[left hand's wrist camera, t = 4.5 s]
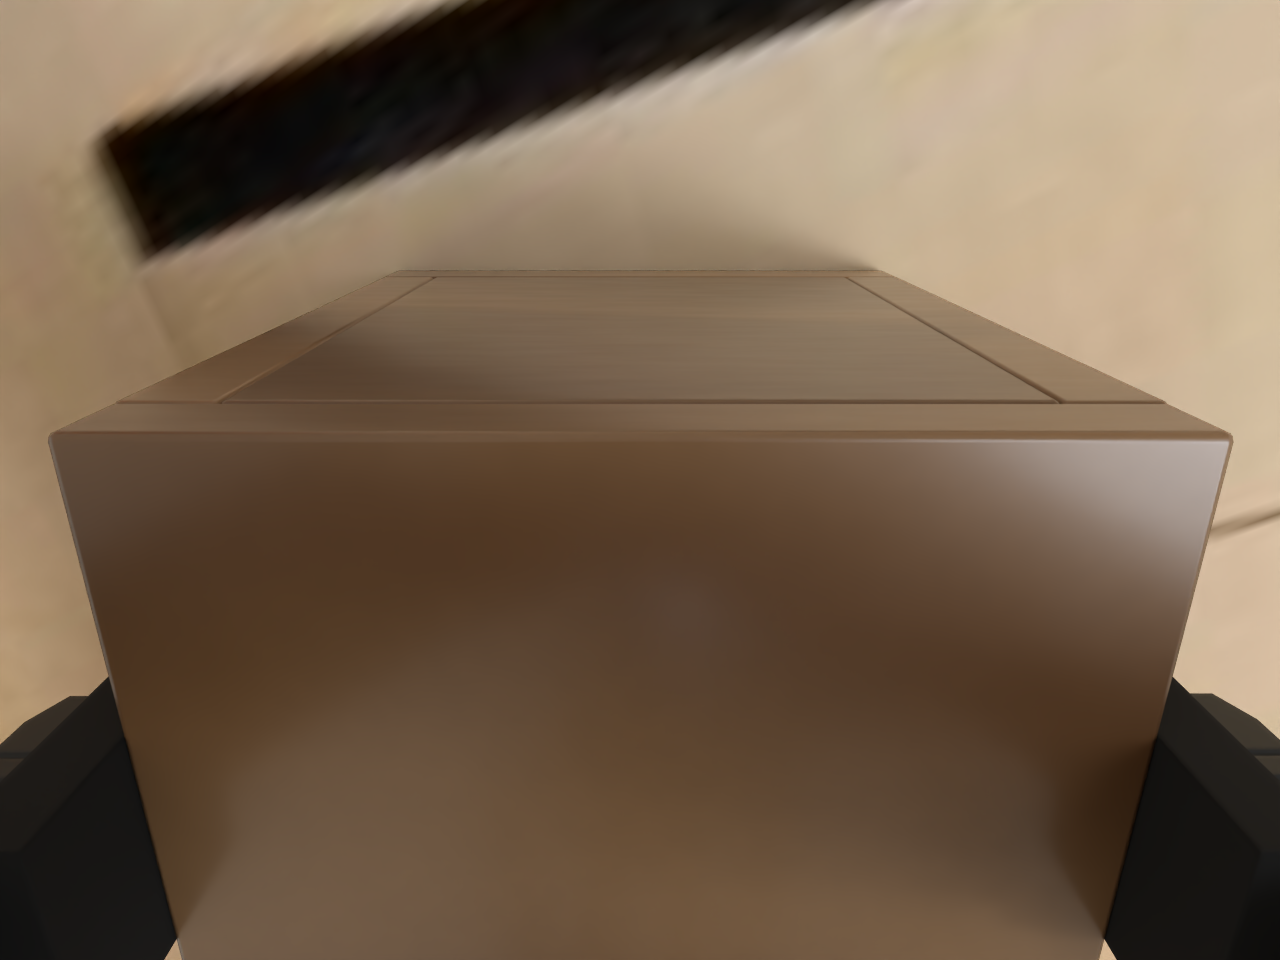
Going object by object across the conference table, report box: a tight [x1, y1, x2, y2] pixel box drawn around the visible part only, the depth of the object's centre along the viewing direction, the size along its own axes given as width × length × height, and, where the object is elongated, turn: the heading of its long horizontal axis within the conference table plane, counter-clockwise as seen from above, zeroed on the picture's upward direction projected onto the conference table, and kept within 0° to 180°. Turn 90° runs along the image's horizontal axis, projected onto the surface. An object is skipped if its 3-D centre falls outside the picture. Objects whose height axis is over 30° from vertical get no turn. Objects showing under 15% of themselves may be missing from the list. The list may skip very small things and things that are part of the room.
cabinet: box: [48, 271, 1233, 960], centre depth 16 cm, size 17×10×11 cm, turn 0°
